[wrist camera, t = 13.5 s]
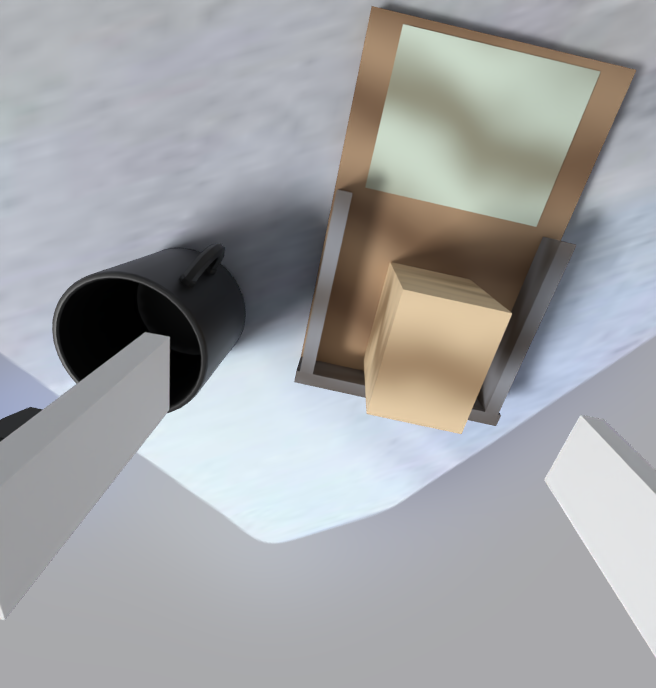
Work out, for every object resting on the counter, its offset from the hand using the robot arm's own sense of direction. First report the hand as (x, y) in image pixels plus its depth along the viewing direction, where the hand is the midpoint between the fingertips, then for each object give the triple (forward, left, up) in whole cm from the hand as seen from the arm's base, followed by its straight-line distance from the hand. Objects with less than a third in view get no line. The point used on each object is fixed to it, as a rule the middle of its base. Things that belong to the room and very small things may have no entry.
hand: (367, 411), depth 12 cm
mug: (+4, -12, -19) cm, 23 cm away
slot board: (-4, +5, -18) cm, 19 cm away
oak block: (+2, +5, -17) cm, 18 cm away
